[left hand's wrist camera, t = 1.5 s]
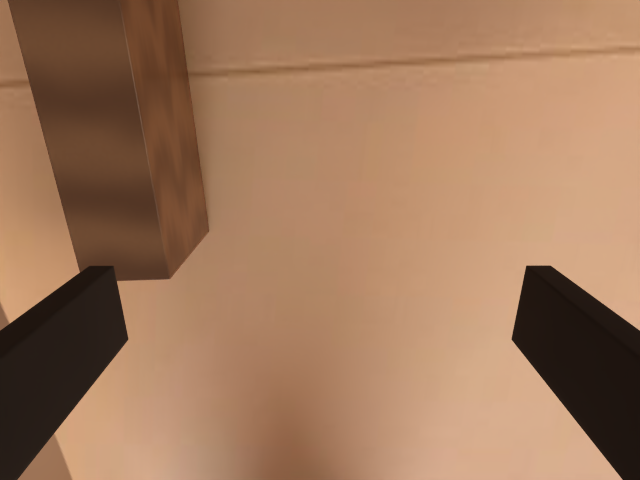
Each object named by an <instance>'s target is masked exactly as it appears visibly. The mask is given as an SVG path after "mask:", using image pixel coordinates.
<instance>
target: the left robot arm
mask: <svg viewBox="0 0 640 480" xmlns="http://www.w3.org/2000/svg"><path fill="white" fill-rule="evenodd" d="M127 341H128V335H127V330H126V325H125V320H124V315H123V310H122V305H121V300H120V295H119V290H118V285H117V280H116V275H115V270H114V266H88V267H87V268H86V269H84V270H83V271H82V272H80V273H79V274H77V275H76V276H75V277H73V278H72V279H71V280H69V281H68V282H66V283H65V284H64V285H62V286H61V287H60V288H58V289H57V290H56V291H54V292H53V293H51V294H50V295H49V296H47V297H46V298H45V299H43V300H42V301H40V302H39V303H38V304H36V305H35V306H34V307H32V308H31V309H29V310H28V311H27V312H25V313H24V314H23V315H21V316H20V317H18V318H17V319H16V320H14V321H13V322H12V323H10V324H9V325H8V326H6V327H5V328H3V329H2V330H1V331H0V480H17V479H18V478H19V477H20V476H21V474H22V473H23V472H24V470H25V469H26V468H27V467H28V465H29V464H30V463H31V462H32V460H33V459H34V458H35V457H36V455H37V454H38V453H39V452H40V450H41V449H42V448H43V446H44V445H45V444H46V443H47V441H48V440H49V439H50V438H51V436H52V435H53V434H54V433H55V431H56V430H57V429H58V428H59V426H60V425H61V424H62V423H63V421H64V420H65V419H66V418H67V416H68V415H69V414H70V412H71V411H72V410H73V409H74V407H75V406H76V405H77V404H78V402H79V401H80V400H81V399H82V397H83V396H84V395H85V394H86V392H87V391H88V390H89V389H90V387H91V386H92V385H93V383H94V382H95V381H96V380H97V378H98V377H99V376H100V375H101V373H102V372H103V371H104V370H105V368H106V367H107V366H108V365H109V363H110V362H111V361H112V359H113V358H114V357H115V356H116V354H117V353H118V352H119V351H120V349H121V348H122V347H123V346H124V344H125V343H126V342H127ZM512 341H513V342H514V343H515V344H516V346H517V347H518V348H519V349H520V351H521V352H522V353H523V354H524V356H525V357H526V358H527V359H528V361H529V362H530V363H531V365H532V366H533V367H534V368H535V370H536V371H537V372H538V373H539V375H540V376H541V377H542V378H543V380H544V381H545V382H546V383H547V385H548V386H549V387H550V389H551V390H552V391H553V392H554V394H555V395H556V396H557V397H558V399H559V400H560V401H561V402H562V404H563V405H564V406H565V407H566V409H567V410H568V411H569V412H570V414H571V415H572V416H573V418H574V419H575V420H576V421H577V423H578V424H579V425H580V426H581V428H582V429H583V430H584V431H585V433H586V434H587V435H588V436H589V438H590V439H591V440H592V441H593V443H594V444H595V445H596V447H597V448H598V449H599V450H600V452H601V453H602V454H603V455H604V457H605V458H606V459H607V460H608V462H609V463H610V464H611V465H612V467H613V468H614V469H615V471H616V472H617V473H618V474H619V476H620V477H621V478H622V479H623V480H640V331H639V330H638V329H637V328H635V327H634V326H633V325H631V324H630V323H628V322H627V321H626V320H624V319H623V318H622V317H620V316H619V315H617V314H616V313H615V312H613V311H612V310H611V309H609V308H608V307H606V306H605V305H604V304H602V303H601V302H600V301H598V300H597V299H595V298H594V297H593V296H591V295H590V294H589V293H587V292H586V291H584V290H583V289H582V288H580V287H579V286H578V285H576V284H575V283H574V282H572V281H571V280H569V279H568V278H567V277H565V276H564V275H563V274H561V273H560V272H558V271H557V270H556V269H554V268H553V267H552V266H526V270H525V275H524V280H523V285H522V290H521V295H520V300H519V305H518V310H517V315H516V320H515V325H514V330H513V335H512Z"/></svg>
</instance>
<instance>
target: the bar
mask: <svg viewBox="0 0 640 480" xmlns="http://www.w3.org/2000/svg"><path fill="white" fill-rule="evenodd" d="M8 3H9V7H10V10H11V14H12V18H13V22H14V25H15V29H16V33H17V37H18V40H19V44H20V48H21V52H22V56H23V59H24V63H25V67H26V71H27V74H28V78H29V82H30V86H31V89H32V93H33V97H34V101H35V105H36V108H37V112H38V116H39V120H40V123H41V127H42V131H43V135H44V138H45V142H46V146H47V150H48V154H49V157H50V161H51V165H52V169H53V172H54V176H55V180H56V184H57V187H58V191H59V195H60V199H61V203H62V206H63V210H64V214H65V218H66V221H67V225H68V229H69V233H70V236H71V240H72V244H73V248H74V252H75V255H76V259H77V263H78V267H79V270H80V272H82V271H83V270H84V269H86V268H87V267H88V266H114V270H115V275H116V280H117V281H130V280H160V279H170V278H171V277H172V276H173V275H174V273H175V272H176V271H177V270H178V269H179V267H180V266H181V265H182V264H183V262H184V261H185V260H186V259H187V258H188V256H189V255H190V254H191V253H192V251H193V250H194V249H195V248H196V247H197V245H198V244H199V243H200V242H201V240H202V239H203V238H204V237H205V236H206V234H207V233H208V232H209V227H208V220H207V212H206V205H205V198H204V190H203V183H202V176H201V168H200V161H199V154H198V146H197V139H196V132H195V124H194V117H193V110H192V102H191V95H190V88H189V80H188V73H187V66H186V59H185V51H184V44H183V37H182V29H181V22H180V15H179V7H178V0H8Z"/></svg>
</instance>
